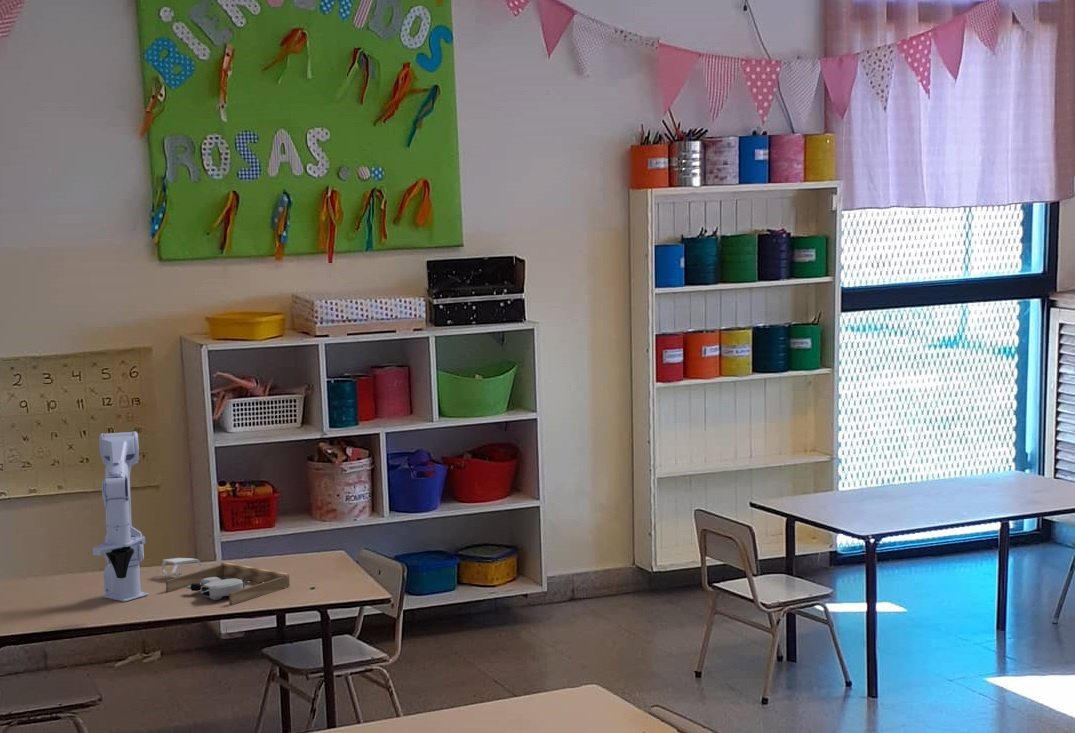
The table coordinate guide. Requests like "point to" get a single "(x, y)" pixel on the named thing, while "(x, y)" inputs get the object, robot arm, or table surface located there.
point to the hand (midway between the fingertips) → (121, 577)
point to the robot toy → (217, 587)
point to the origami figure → (179, 562)
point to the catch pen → (270, 578)
